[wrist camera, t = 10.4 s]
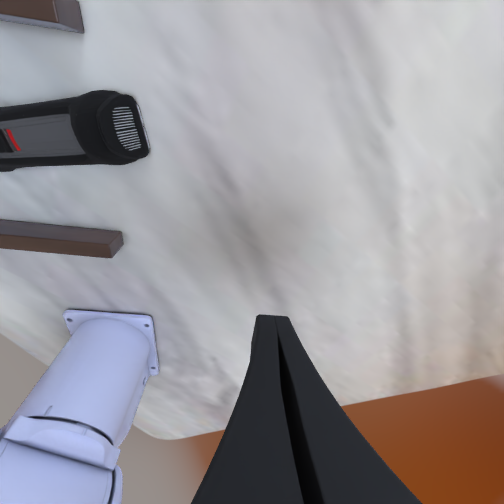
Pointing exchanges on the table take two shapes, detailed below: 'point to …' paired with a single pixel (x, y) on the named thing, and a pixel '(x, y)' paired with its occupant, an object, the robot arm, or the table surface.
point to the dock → (44, 235)
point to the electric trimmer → (73, 132)
